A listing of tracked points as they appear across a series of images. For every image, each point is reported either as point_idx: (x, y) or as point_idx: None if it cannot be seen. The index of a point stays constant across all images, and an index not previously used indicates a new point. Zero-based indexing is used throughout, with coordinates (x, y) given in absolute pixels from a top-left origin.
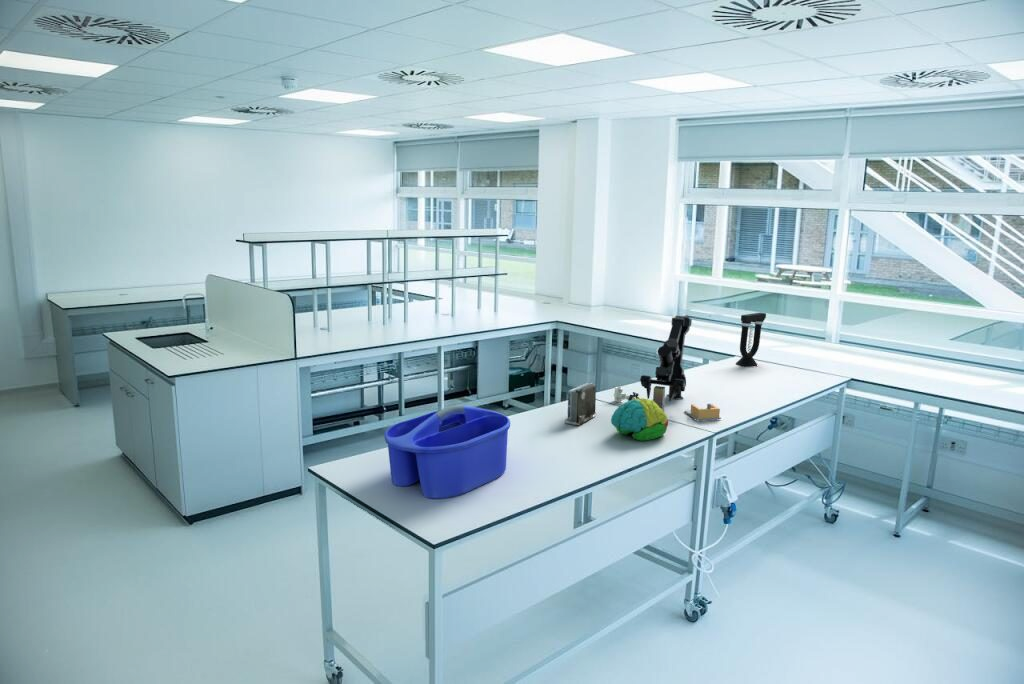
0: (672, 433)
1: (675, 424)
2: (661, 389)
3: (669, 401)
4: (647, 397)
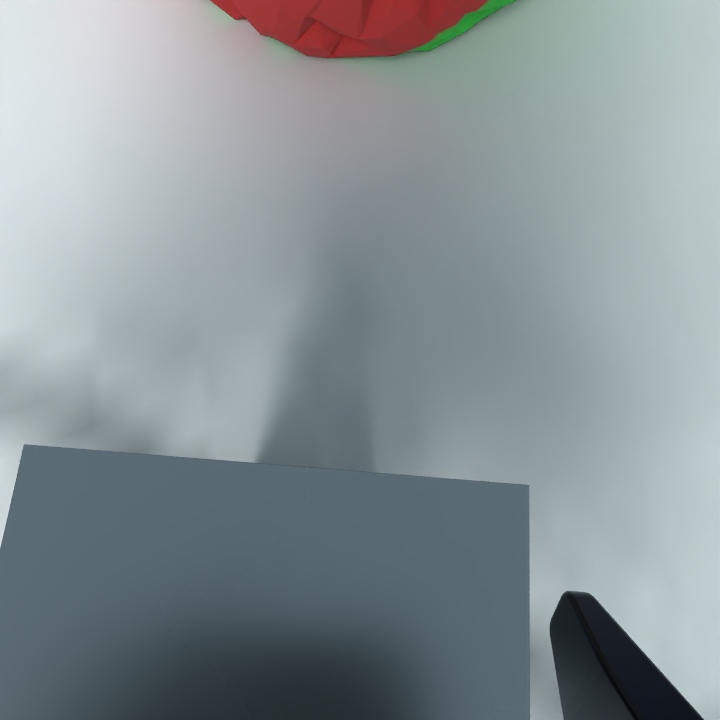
0: (81, 3)
1: (47, 309)
2: (123, 452)
3: None
4: (589, 595)
